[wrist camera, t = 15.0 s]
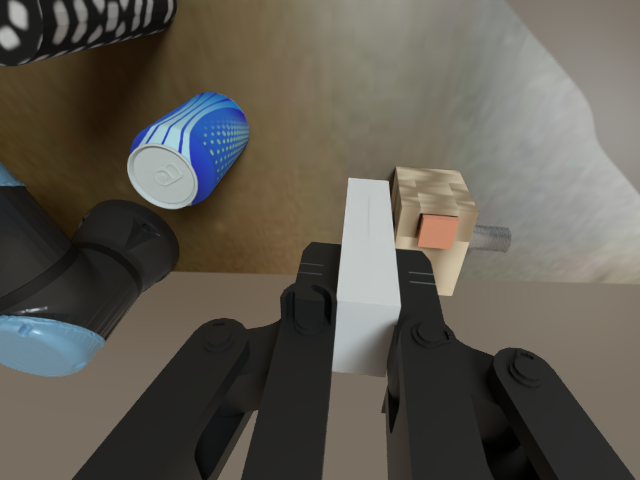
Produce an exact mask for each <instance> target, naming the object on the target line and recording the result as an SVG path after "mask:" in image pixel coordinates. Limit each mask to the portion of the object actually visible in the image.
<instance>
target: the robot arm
mask: <svg viewBox="0 0 640 480" xmlns="http://www.w3.org/2000/svg"><path fill="white" fill-rule="evenodd" d="M26 188H27V186H26V185H25V184H24V183H22V182H19V180H18V179H17V178H16V177H15V176H14V175H13V174H12V173H11V172H10V171H9V170H8V169H7V168H6V167H5V166H4V165H3V164H2V163H1V162H0V363H1V364H3V365H6V366H8V367H10V368H13V369H16V370H19V371H22V372H26V373H30V374H34V375H40V376H50V377H53V376H54V377H57V376H67V375H70V374H74V373H76V372H78V371H80V370H82V369H83V368H84V367H85V366H86V365H87V364H88V363H89V362H90V361H91V360H92V359H93V357H94V356H95V355H96V354H97V353H98V352H99V351H100V350H101V349H102V348H103V347H104V346H105V342H106V341H107V339H108V338H109V337H110V335H111V334H112V333H113V331H114V330H115V328H116V327H117V326H118V324H119V323H120V321H121V320H122V319H123V317H124V316H125V315H126V313H127V311H128V310H129V309H130V308H131V306H132V305H133V303H134V302H135V301H136V299H137V298H138V297H139V295H140V294H141V293H142V292H144V291H145V290H147V289H148V288H150V287H151V286H152V285H153V284H155V283H157V282H159V281H161V280H162V279H164V278H165V277H166V276H167V275H168V274H169V273H170V272H171V270H172V269H173V268H174V266H175V265H176V263H177V261H178V258H179V246H178V242H177V239H176V237H175V235H174V233H173V232H172V230H171V229H170V227H169V226H168V225H167V224H166V223H165V222H164V221H163V220H162V219H161V218H160V217H159V216H158V215H156V214H155V213H154V212H152V211H151V210H149V209H147V208H145V207H143V206H141V205H139V204H136V203H133V202H130V201H125V200H108V201H104V202H101V203H99V204H97V205H96V206H94V207H93V208H92V209H91V210H90V211H88V212H87V213H86V214H85V215H84V216H83V218H82V219H81V221H80V223H79V226H78V229H77V231H76V232H75V234H74V236H73V238H72V240H70V239H69V238H68V237H67V236H66V234H65V233H64V232H63V231H62V230H61V229H60V227H59V226H58V225H57V224H56V223H55V222H54V220H53V219H52V218H51V217H50V216H49V215H48V214H47V212H46V211H45V210H44V209H43V208H42V207H41V205H40V204H39V203H38V202H37V201H36V200H35V199H34V197H33V196H32V195H31V194H30V193H29V192H28V190H27V189H26ZM435 283H436V282H435V278H434V275H433V269H432V264H431V261H430V260H429V259H428V257H427V256H426V255H425V254H424V253H423V251H419V250H408V249H397V248H395V241H394V231H393V221H392V211H391V201H390V191H389V181H382V180H369V179H356V178H349V181H348V191H347V201H346V210H345V220H344V230H343V239H342V245H340V244H329V243H318V242H311V243H310V244H309V245H308V246H307V247H306V248H305V250H304V251H303V254H302V258H301V262H300V266H299V270H298V274H297V278H296V282H295V283H294V284H292V285H290V286H289V287H287V288H286V289H285V290H284V292H283V293H282V295H281V297H280V302H281V319H280V320H279V321H277V322H275V323H273V324H271V325H267V326H264V327H258V328H252V329H246V328H245V327H244V326H243V324H241V323H240V322H238V321H236V320H234V319H227V318H221V319H215V320H211V321H209V322H207V323H205V324H203V325H201V326H200V327H199V328H198V329H197V330H196V331H195V332H194V333H193V334H192V335H191V337H190V338H189V339H188V340H187V341H186V343H185V344H184V345H183V346H182V347H181V348H180V350H179V351H178V352H177V353H176V355H175V356H174V357H173V358H172V359H171V360H170V362H169V363H168V364H167V365H166V367H165V368H164V369H163V370H162V371H161V373H160V374H159V375H158V376H157V377H156V379H155V380H154V381H153V382H152V384H151V385H150V386H149V387H148V388H147V389H146V391H145V392H144V393H143V394H142V395H141V397H140V398H139V399H138V400H137V401H136V403H135V404H134V405H133V406H132V408H131V409H130V410H129V411H128V412H127V414H126V415H125V416H124V417H123V418H122V420H121V421H120V422H119V423H118V424H117V426H116V427H115V428H114V429H113V430H112V432H111V433H110V434H109V435H108V436H107V438H106V439H105V440H104V441H103V442H102V444H101V445H100V446H99V447H98V448H97V450H96V451H95V452H94V453H93V455H92V456H91V457H90V458H89V459H88V461H87V462H86V463H85V464H84V465H83V467H82V468H81V469H80V470H79V471H78V473H77V474H76V475H75V476H74V478H73V479H72V480H217V479H218V477H219V475H220V473H221V471H222V469H223V468H224V466H225V464H226V462H227V460H228V458H229V456H230V454H231V453H232V451H233V449H234V447H235V445H236V443H237V441H238V439H239V437H240V436H241V434H242V432H243V430H244V428H245V426H246V424H247V423H248V421H249V419H250V417H251V415H252V413H253V411H255V410H259V411H258V416H257V419H256V423H255V427H254V431H253V435H252V439H251V442H250V447H249V451H248V454H247V458H246V462H245V467H244V470H243V474H242V478H241V480H322V475H323V464H324V454H325V442H326V432H327V420H328V410H329V398H330V388H331V376H332V371H334V372H343V373H352V374H360V375H369V376H378V377H385V375H386V370H387V376H388V385H387V389H386V394H385V398H384V402H383V406H382V413H386V434H387V460H388V461H387V462H388V480H635V478H634V477H633V476H632V474H631V473H630V472H629V470H628V469H627V468H626V466H625V465H624V463H623V462H622V461H621V459H620V458H619V457H618V455H617V454H616V453H615V451H614V450H613V449H612V447H611V446H610V445H609V443H608V442H607V441H606V439H605V438H604V437H603V435H602V434H601V433H600V431H599V430H598V429H597V427H596V426H595V425H594V423H593V422H592V421H591V419H590V418H589V417H588V415H587V414H586V413H585V411H584V410H583V408H582V407H581V406H580V404H579V403H578V402H577V400H576V399H575V398H574V396H573V395H572V394H571V392H570V391H569V390H568V388H567V387H566V386H565V384H564V383H563V382H562V380H561V379H560V378H559V376H558V375H557V374H556V372H555V371H554V370H553V369H552V368H551V367H550V365H549V364H548V363H547V362H546V361H545V360H543V359H542V358H540V357H539V356H537V355H535V354H534V353H532V352H529V351H526V350H523V349H521V348H506V349H502V350H500V351H499V352H498V353H497V354H496V355H495V356H493V355H490V354H487V353H484V352H482V351H479V350H476V349H473V348H471V347H469V346H467V345H465V344H463V343H462V342H460V341H459V340H457V339H456V337H455V335H454V333H453V331H452V330H451V329H450V328H449V327H448V326H447V325H446V324H445V322H444V318H443V314H442V309H441V305H440V300H439V296H438V291H437V287H436V285H435Z"/></svg>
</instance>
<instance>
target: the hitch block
mask: <svg viewBox="0 0 640 480" xmlns="http://www.w3.org/2000/svg"><path fill="white" fill-rule="evenodd" d="M391 211H392V212H393V213H394V218H395V230H394V241H395V248H397V249H408V250H419V251H423V253H424V254H425V255H426V256H427V257H428V259H429V260H430V261H431V264H432V269H433V275H434V278H435V282H436V283H435V285H436V287H437V291H438V295H447V296H452V294H453V290H454V288H455V285H456V281H457V278H458V275H459V272H460V269H461V266H462V263H463V260H464V257H465V254H466V251H467V248H468V245H469V242H470V239H471V236H472V233H473V230H474V227H475V224H476V221H477V218H478V215H479V212H478V210H477V207H476V205H475V203H474V201H473V199H472V197H471V195H470V193H469V191H468V189H467V187H466V185H465V182H464V180H463V178H462V176H461V174H460V172H459V171H452V170H439V169H425V168H411V167H397V166H396V170H395V176H394V182H393V189H392V195H391ZM420 213H425V214H437V215H449V217H458V219H459V225H458V228H457V231H456V235H455V238H454V241H453V245H452V248H451V249H440V248H428V247H417V239H418V234H419V230H420V227H417V225H418V220H419V216H420Z"/></svg>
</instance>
